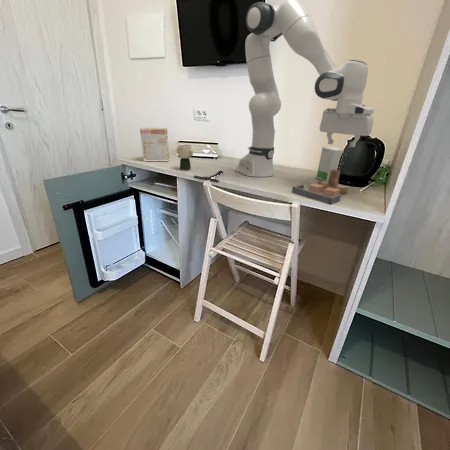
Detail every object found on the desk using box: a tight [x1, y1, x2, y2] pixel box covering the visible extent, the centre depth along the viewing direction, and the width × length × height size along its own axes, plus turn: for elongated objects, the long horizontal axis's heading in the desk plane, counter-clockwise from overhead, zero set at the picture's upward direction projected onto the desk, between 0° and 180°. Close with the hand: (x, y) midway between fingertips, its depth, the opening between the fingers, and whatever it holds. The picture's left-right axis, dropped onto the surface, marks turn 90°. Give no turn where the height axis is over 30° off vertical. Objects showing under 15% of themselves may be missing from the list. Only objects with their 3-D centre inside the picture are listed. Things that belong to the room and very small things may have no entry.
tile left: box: [308, 183, 324, 194], centre depth 113 cm, size 4×4×3 cm
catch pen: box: [291, 183, 342, 205], centre depth 107 cm, size 18×7×2 cm, turn 41°
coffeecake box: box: [139, 127, 170, 160], centre depth 160 cm, size 15×7×20 cm, turn 91°
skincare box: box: [316, 146, 344, 182], centre depth 129 cm, size 8×7×16 cm
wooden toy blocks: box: [316, 170, 349, 196], centre depth 114 cm, size 13×3×9 cm, turn 41°
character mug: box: [176, 144, 194, 170], centre depth 143 cm, size 11×7×13 cm, turn 59°
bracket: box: [193, 170, 224, 183], centre depth 132 cm, size 14×15×3 cm
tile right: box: [322, 187, 340, 197], centre depth 109 cm, size 4×4×3 cm
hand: (340, 145), depth 107 cm, fingers open, 8 cm apart
